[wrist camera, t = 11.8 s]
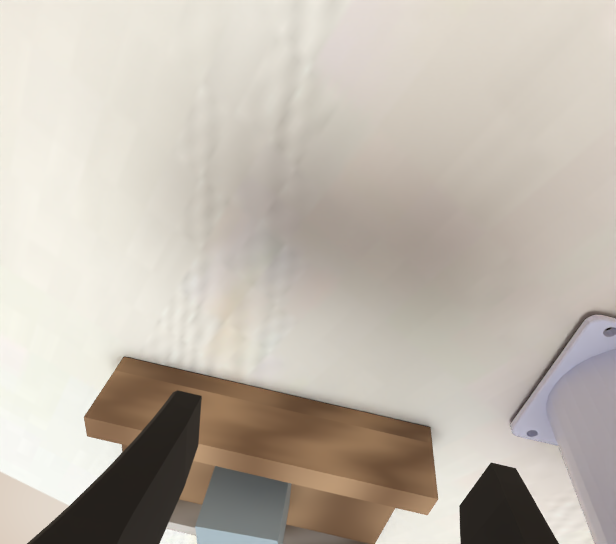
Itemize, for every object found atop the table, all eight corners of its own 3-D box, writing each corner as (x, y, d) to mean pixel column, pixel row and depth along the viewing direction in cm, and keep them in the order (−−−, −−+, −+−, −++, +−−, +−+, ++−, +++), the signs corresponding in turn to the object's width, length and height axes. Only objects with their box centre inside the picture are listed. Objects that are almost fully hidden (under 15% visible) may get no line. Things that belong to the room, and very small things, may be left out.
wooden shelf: (430, 427, 24) (438, 499, 21) (368, 539, 32) (367, 605, 28) (123, 356, 24) (83, 417, 21) (133, 485, 32) (104, 544, 29)
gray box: (294, 447, 25) (277, 540, 21) (289, 504, 29) (274, 594, 25) (225, 436, 26) (195, 526, 21) (227, 494, 29) (202, 581, 25)
